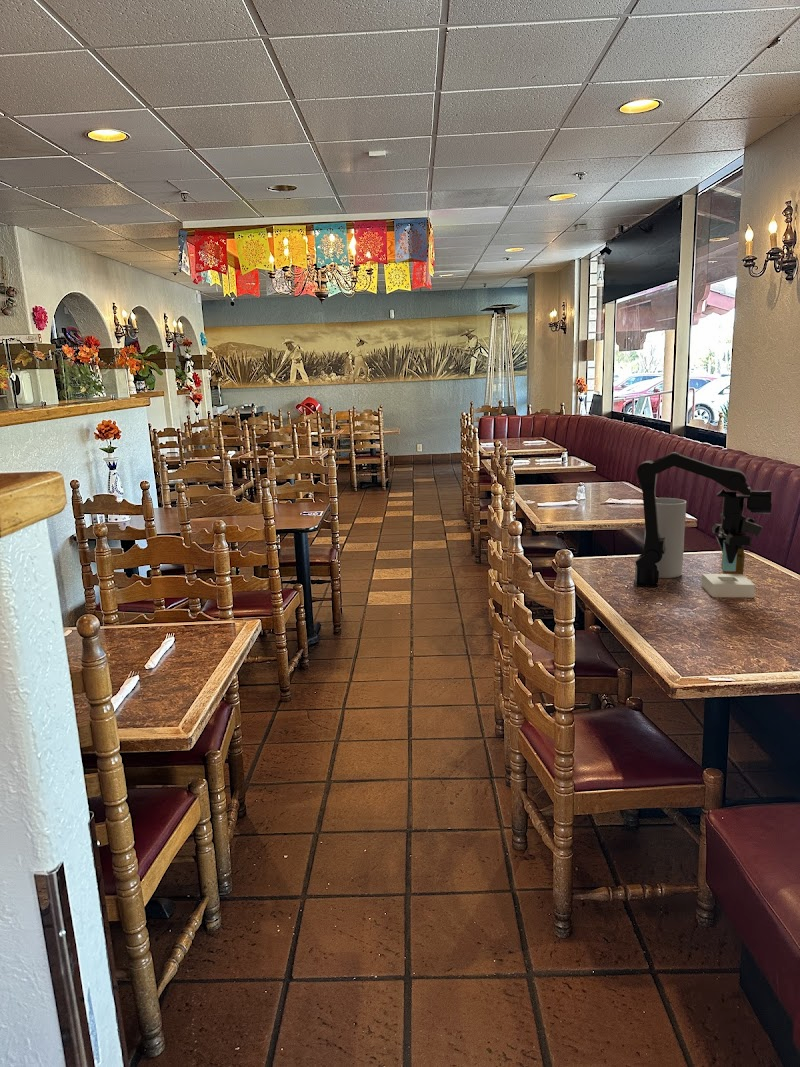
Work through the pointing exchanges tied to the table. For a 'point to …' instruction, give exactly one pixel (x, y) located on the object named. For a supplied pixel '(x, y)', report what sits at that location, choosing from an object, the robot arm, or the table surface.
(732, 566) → the peg
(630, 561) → the table surface
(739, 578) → the socket block
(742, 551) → the condiment
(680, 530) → the cylinder vase
